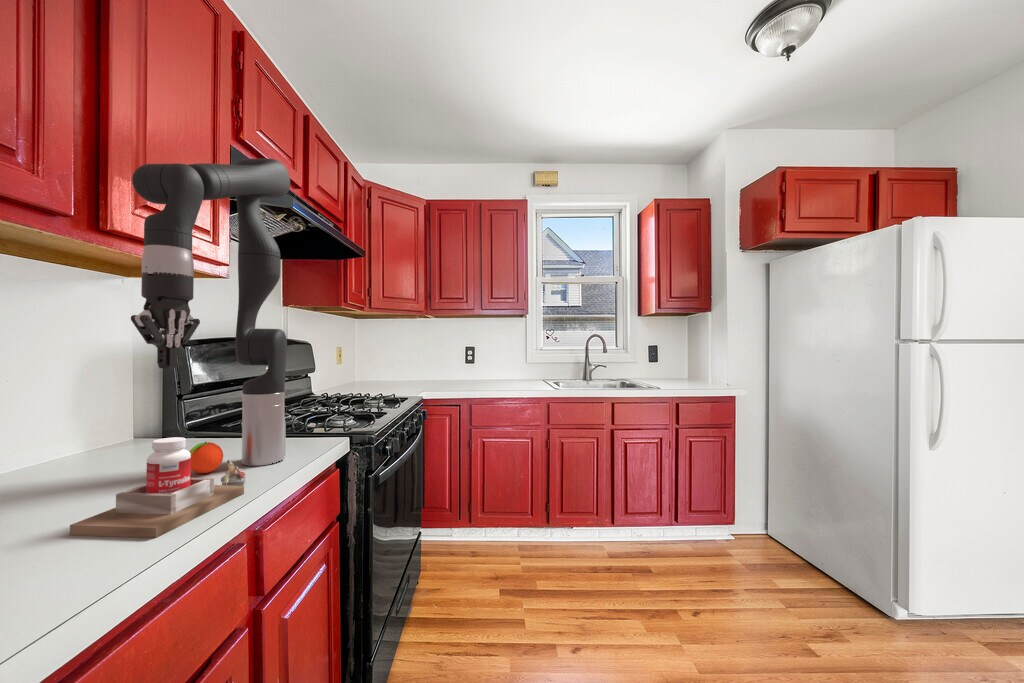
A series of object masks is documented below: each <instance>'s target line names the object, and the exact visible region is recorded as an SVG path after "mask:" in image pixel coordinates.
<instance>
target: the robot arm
mask: <svg viewBox="0 0 1024 683" xmlns="http://www.w3.org/2000/svg"><path fill="white" fill-rule="evenodd" d="M131 176H132V177H131V183H132V186H133V189H134V191H135V192H136V193H137V194H138V195H139V196H140V197H141V198H142V199H144V200H145V201H147V202H148V203H151V204H155V205H165V206H164V207H163V209H162V210H161V211H159V212H156V213H152V214H150V215H148V216H146V218H145V219H144V221H143V222H144V225H143V250H142V256H141V297H142V298H144V299H145V303H144V304H143V308H142V309H143V310H142V311H141V312H139V314H131V316H130V321H131V322H132V323H133V325H134V326H135V328H136V330H137V331H138V332H139V334H140V336H141V337H142V338H143V340H144V341H145V343H146V344H148V345H153V346H154V347H155V348H156V349H157V350H156V352H157V353H156V357H157V358H156V359H157V360H156V362H157V365H158V368H159V369H175V368H177V364H178V362H179V360H178V357H179V356H178V354H179V353H178V349H179V348H180V346H182V345H187V344H188V343H189V341H190V340H191V337H193V335H194V333H195V332H196V331H197V328H198V327H199V325H200V324H201V321H200V319H199V318H194V317H193V316H192V315H191V309H190V306H189V302H190V301H192V300H194V284H195V283H194V280H195V279H194V276H195V274H194V272H195V270H194V266H195V265H194V264H195V263H194V257H193V229H194V226H195V224H196V221H197V219H198V215H199V212H200V209H201V207H202V204H203V201H214V200H221V199H228V198H234V197H236V198H235V199H236V209H237V221H238V225H237V226H238V229H237V230H238V246H237V247H238V249H237V277H238V278H237V279H238V280H237V281H238V282H237V284H238V302H237V303H238V304H237V305H238V307H237V316H236V317H237V318H236V326H235V327H236V329H235V340H234V341H235V342H234V343H235V344H234V348H235V349H234V351H235V357H236V360H237V362H238V363H239V364H240V365H242V366H268V367H267V370H266V372H264V373H263V374H262V375H260V376H257V377H255V378H251V379H248V380H246V381H244V382H243V383H242V395H241V396H242V399H241V400H242V401H241V402H242V403H241V406H242V410H241V411H242V415H241V416H242V419H241V422H242V424H241V433H242V434H241V464H242V465H244V466H249V467H251V466H254V467H255V466H266V465H273V464H277V463H279V462H278V461H280V462H282V461H283V459H285V457H286V441H287V440H286V439H287V438H286V436H287V435H286V431H287V428H286V427H287V424H286V423H287V422H286V420H285V396H286V395H285V394H286V393H285V392H286V391H285V390H286V389H285V386H286V374H287V373H286V370H287V355H288V354H287V353H288V351H287V350H288V338H287V335H286V333H285V331H284V330H282V329H280V328H256V323H257V319H258V314H259V312H260V309H261V308H262V305H263V304H264V302H265V301H266V300H267V298H268V297H269V295H270V294H271V293H272V292H273V291H274V289H275V287H276V286H277V284H278V283H279V280H280V277H281V251H280V248H279V245H278V243H277V241H276V240H275V238H274V237H273V235H272V233H270V231H269V230H268V228H267V226H266V224H265V223H264V221H263V218H262V214H261V205H260V203H261V199H263V198H265V199H268V198H269V199H272V198H273V199H275V198H276V199H277V198H282V197H284V196H285V195H287V193H289V191H290V188H291V178H290V174H289V170H288V168H287V167H286V166H285V165H284V164H283V162H281V161H280V160H277V159H273V158H267V157H266V158H264V157H263V158H242V159H239V160H238V161H237V162H236V164H227V163H212V162H211V163H209V162H208V163H202V162H201V163H191V164H185V163H180V162H179V163H174V162H173V163H146V164H145V163H144V164H142V165H140V166H139V167H137V168H136V169H135V170H134V172H133V173H132V175H131ZM284 456H285V457H284ZM281 460H282V461H281ZM276 462H277V463H276ZM272 463H273V464H272Z"/></svg>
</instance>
